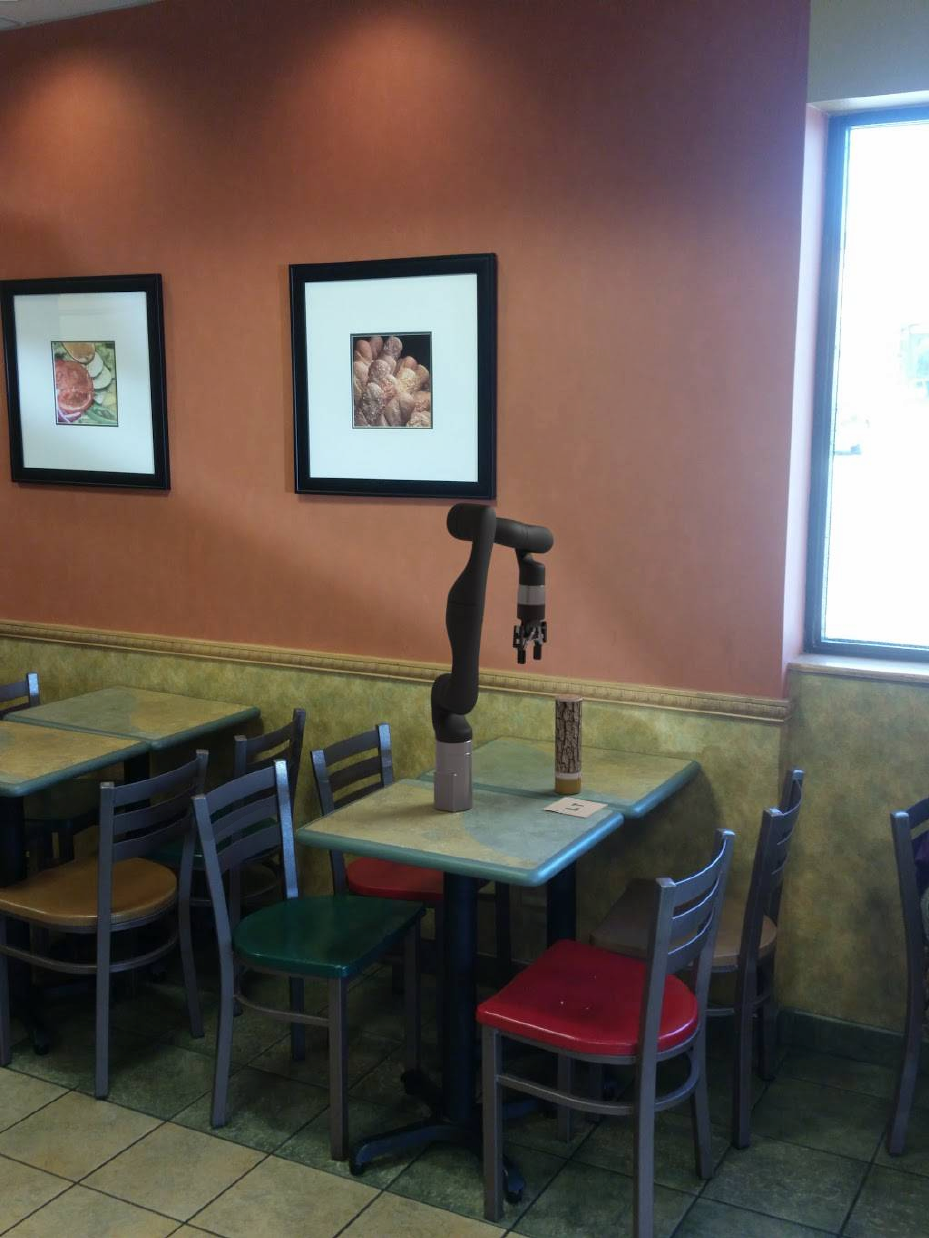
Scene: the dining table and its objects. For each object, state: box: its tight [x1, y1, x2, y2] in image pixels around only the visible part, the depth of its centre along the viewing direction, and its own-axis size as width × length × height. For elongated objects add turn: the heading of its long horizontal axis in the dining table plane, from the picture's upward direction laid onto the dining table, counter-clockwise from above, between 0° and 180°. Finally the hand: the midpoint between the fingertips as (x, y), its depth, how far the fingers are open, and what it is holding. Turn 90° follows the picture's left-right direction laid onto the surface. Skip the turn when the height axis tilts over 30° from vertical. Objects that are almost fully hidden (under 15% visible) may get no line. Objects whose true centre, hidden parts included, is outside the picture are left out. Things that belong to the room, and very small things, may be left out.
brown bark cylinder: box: [554, 693, 583, 795], centre depth 316 cm, size 7×7×25 cm
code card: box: [541, 796, 609, 819], centre depth 305 cm, size 12×12×1 cm
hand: (529, 661), depth 329 cm, fingers open, 8 cm apart
